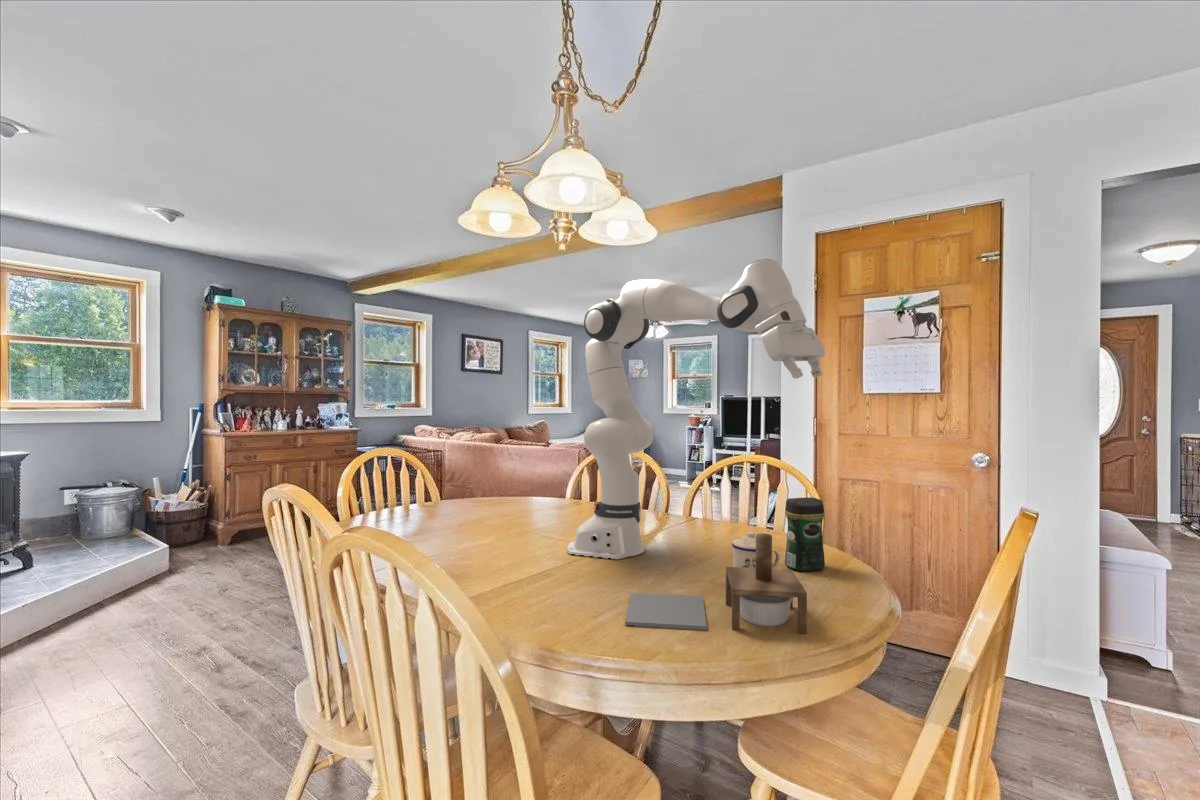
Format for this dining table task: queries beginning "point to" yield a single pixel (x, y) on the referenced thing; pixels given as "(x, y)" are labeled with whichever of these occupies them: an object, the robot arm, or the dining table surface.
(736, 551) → the teacup with lid
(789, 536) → the coffee jar
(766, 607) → the ramekin
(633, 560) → the dining table surface
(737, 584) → the walnut cover
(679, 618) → the grey rubber mat
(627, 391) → the robot arm
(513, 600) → the dining table surface
